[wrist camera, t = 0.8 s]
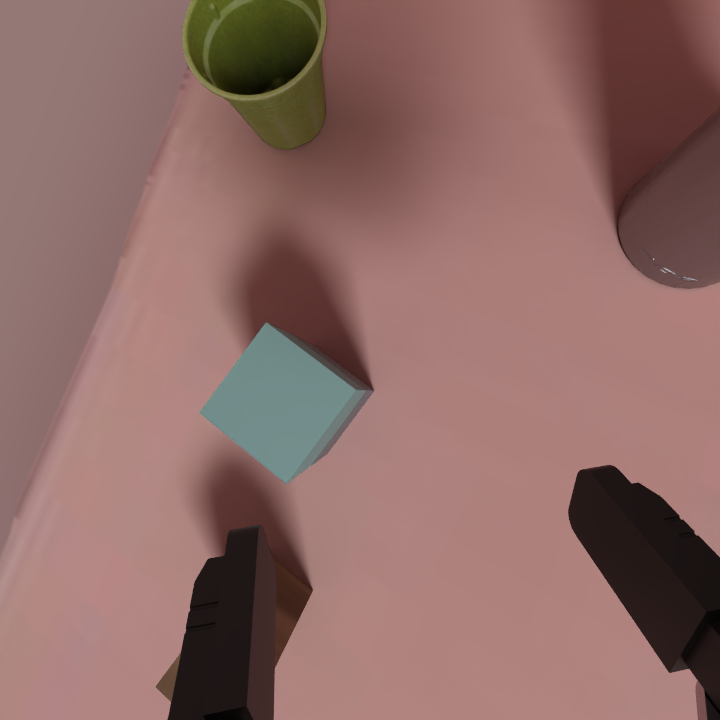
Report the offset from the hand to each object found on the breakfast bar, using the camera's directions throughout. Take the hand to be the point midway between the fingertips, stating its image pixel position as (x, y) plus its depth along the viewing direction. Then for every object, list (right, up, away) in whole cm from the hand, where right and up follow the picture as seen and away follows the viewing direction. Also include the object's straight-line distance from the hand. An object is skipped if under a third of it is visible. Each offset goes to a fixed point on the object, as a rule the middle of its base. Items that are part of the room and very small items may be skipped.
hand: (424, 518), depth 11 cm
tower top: (-5, +1, +17) cm, 18 cm away
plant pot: (-7, +24, +25) cm, 35 cm away
